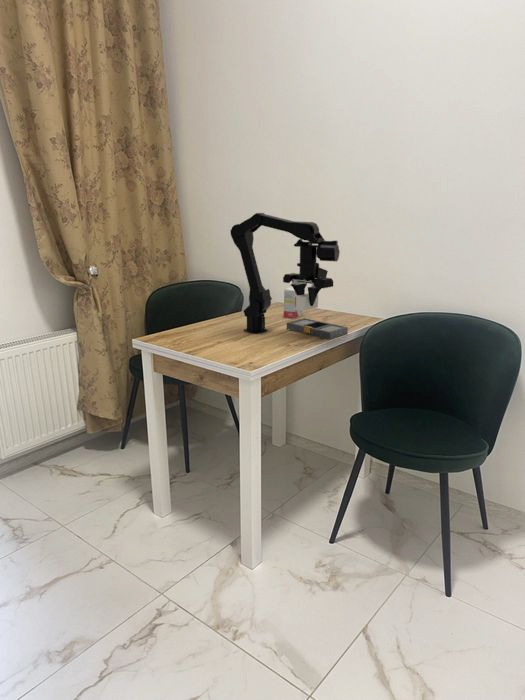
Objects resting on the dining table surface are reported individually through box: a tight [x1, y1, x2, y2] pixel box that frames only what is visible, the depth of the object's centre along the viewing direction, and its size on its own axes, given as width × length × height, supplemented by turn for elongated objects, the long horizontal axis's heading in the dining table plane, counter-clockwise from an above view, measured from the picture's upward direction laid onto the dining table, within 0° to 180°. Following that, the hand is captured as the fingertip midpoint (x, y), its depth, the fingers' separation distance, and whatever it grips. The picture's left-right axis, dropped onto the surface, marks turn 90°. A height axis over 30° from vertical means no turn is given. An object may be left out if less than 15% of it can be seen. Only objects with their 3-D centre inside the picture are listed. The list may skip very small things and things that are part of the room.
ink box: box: [283, 286, 303, 319], centre depth 207 cm, size 9×5×12 cm, turn 149°
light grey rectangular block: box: [296, 293, 319, 311], centre depth 174 cm, size 7×4×4 cm, turn 132°
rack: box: [286, 317, 349, 340], centre depth 183 cm, size 11×20×3 cm, turn 45°
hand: (307, 304), depth 174 cm, fingers closed on light grey rectangular block, 4 cm apart
